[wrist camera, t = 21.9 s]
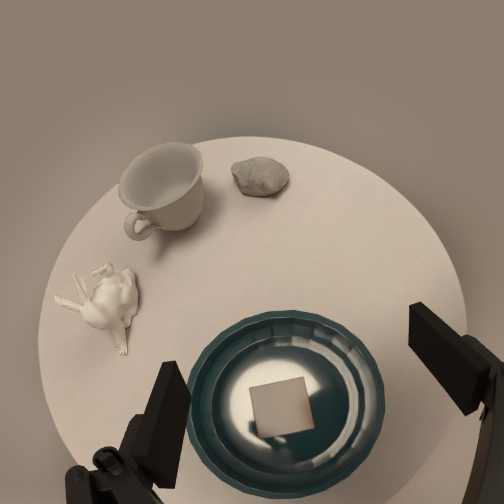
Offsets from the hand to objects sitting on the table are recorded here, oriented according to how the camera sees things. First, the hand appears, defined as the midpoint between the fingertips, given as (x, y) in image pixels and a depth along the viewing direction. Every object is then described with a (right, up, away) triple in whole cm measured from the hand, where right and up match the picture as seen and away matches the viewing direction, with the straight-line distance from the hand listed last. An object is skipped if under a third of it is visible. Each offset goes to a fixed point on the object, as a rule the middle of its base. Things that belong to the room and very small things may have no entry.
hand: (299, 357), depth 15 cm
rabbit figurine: (-22, -3, +24) cm, 33 cm away
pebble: (-1, +16, +32) cm, 35 cm away
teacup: (-14, +10, +30) cm, 34 cm away
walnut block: (+1, -12, +15) cm, 19 cm away
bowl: (+1, -12, +16) cm, 20 cm away
